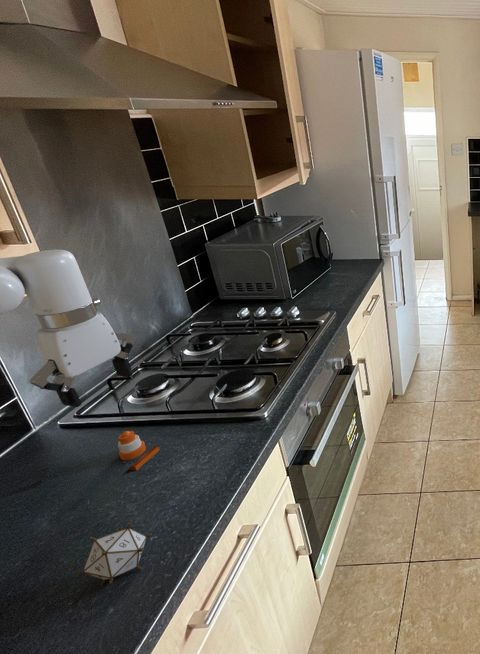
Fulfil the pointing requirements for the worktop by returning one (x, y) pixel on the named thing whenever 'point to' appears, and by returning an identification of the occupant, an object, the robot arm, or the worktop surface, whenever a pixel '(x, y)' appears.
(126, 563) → the game die
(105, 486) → the worktop surface
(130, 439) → the cone
